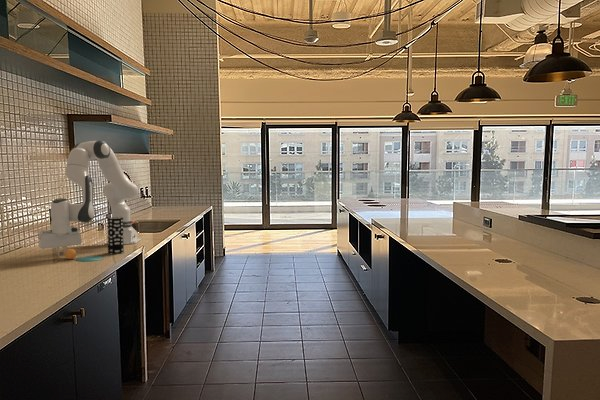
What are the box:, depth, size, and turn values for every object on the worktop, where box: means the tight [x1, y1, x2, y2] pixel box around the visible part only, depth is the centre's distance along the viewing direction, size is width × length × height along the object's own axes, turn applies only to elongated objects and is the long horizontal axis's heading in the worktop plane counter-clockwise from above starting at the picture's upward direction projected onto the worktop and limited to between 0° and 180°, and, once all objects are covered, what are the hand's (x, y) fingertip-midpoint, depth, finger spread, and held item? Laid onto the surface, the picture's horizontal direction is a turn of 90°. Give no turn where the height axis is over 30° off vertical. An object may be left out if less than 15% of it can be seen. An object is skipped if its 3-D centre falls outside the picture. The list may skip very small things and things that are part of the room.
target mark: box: [75, 255, 104, 263], centre depth 236 cm, size 13×13×1 cm
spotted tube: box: [106, 216, 125, 255], centre depth 252 cm, size 8×8×20 cm
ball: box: [64, 248, 77, 260], centre depth 234 cm, size 6×6×6 cm
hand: (61, 254), depth 237 cm, fingers closed
